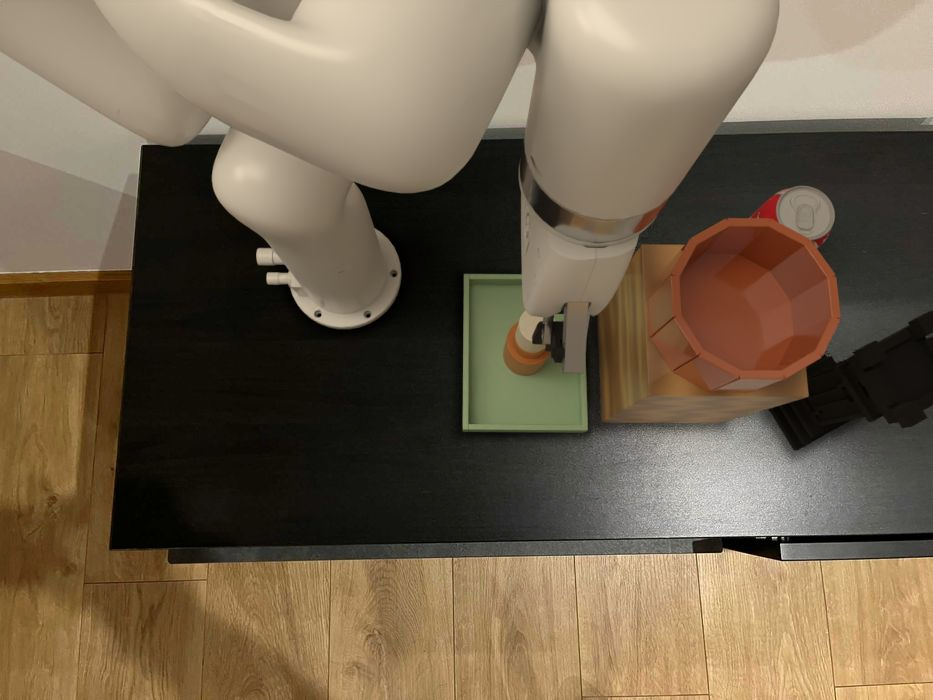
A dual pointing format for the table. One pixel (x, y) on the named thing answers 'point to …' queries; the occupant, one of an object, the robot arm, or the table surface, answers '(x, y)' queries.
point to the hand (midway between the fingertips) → (552, 274)
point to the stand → (663, 362)
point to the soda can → (801, 212)
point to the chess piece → (865, 386)
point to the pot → (744, 306)
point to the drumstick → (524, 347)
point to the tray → (494, 385)
